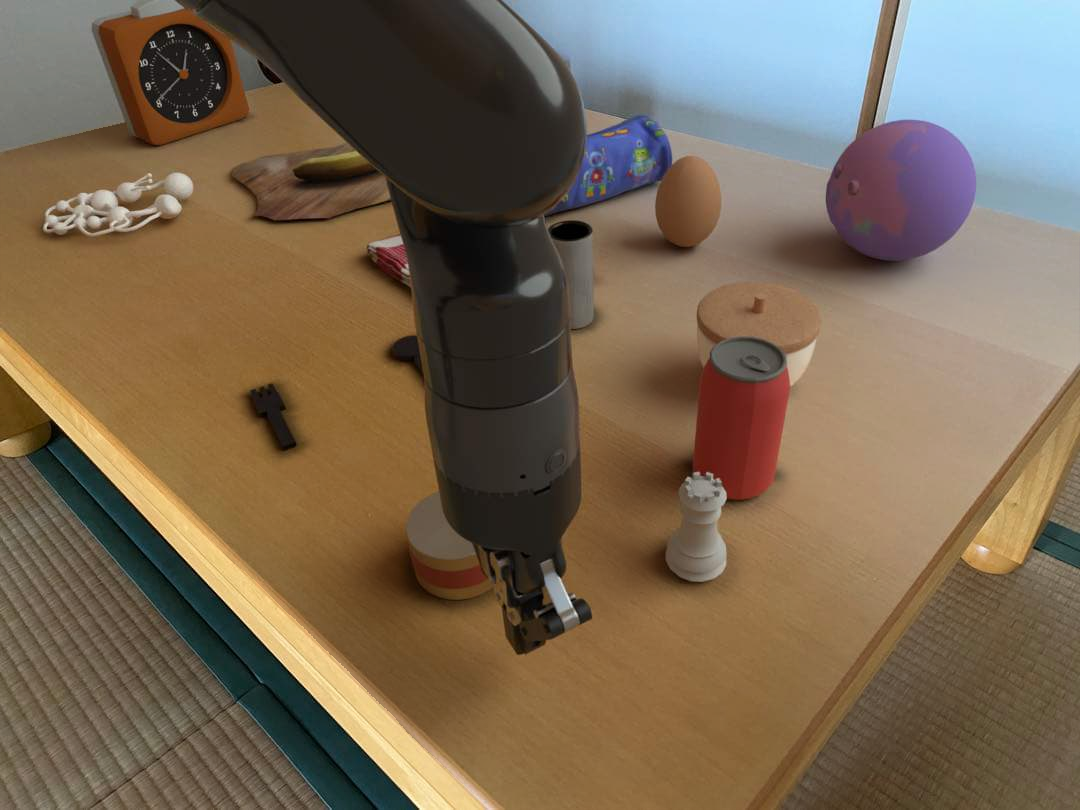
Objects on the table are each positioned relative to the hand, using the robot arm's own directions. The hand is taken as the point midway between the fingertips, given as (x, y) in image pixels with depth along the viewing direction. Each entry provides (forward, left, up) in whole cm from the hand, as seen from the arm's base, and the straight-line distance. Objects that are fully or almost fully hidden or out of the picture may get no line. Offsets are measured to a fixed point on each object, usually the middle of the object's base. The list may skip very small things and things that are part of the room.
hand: (526, 641), depth 52 cm
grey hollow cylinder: (+40, +15, -3) cm, 43 cm away
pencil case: (+68, +25, -3) cm, 73 cm away
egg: (+60, +9, -3) cm, 61 cm away
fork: (+14, +34, -3) cm, 37 cm away
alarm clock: (+72, +100, -3) cm, 123 cm away
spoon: (+27, +25, -3) cm, 37 cm away
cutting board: (+65, +61, -3) cm, 89 cm away
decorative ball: (+66, -13, -3) cm, 68 cm away
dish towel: (+46, +30, -3) cm, 55 cm away
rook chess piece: (+13, -7, -3) cm, 15 cm away
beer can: (+23, -7, -3) cm, 25 cm away
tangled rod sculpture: (+40, +82, -3) cm, 91 cm away
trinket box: (+36, -5, -3) cm, 37 cm away
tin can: (+6, +9, -3) cm, 11 cm away
